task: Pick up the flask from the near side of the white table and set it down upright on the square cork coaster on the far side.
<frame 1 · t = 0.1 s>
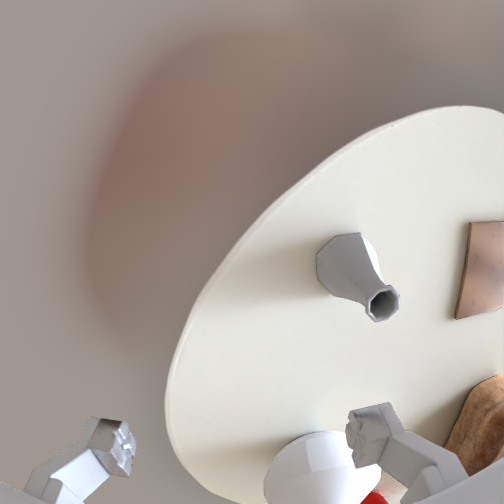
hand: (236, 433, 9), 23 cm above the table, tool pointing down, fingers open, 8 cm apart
flask: (345, 263, 33), on the table
coaster: (493, 267, 34), on the table
bread: (468, 417, 45), on the table
apple: (367, 495, 52), on the table
vase: (314, 447, 42), on the table
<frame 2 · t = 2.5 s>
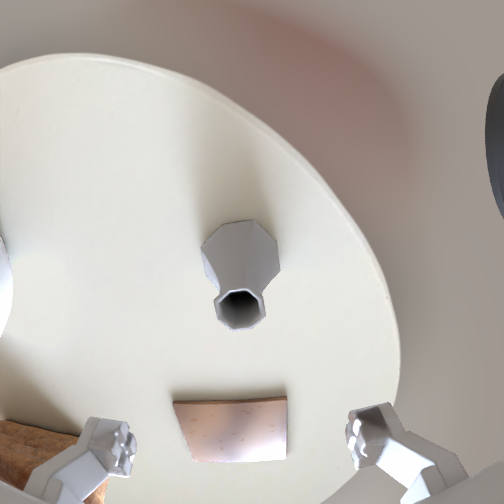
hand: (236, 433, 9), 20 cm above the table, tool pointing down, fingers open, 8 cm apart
flask: (240, 257, 28), on the table
coaster: (234, 433, 36), on the table
bread: (51, 441, 38), on the table
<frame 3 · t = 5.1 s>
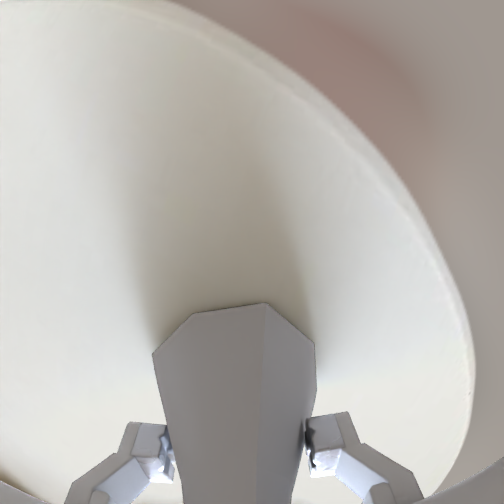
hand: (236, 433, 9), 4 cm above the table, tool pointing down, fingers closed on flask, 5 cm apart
flask: (237, 369, 13), on the table, touching gripper
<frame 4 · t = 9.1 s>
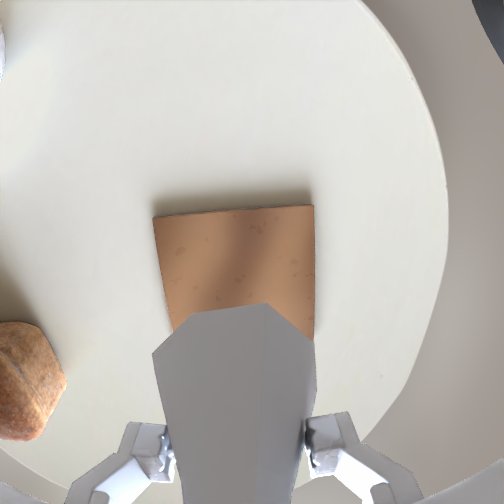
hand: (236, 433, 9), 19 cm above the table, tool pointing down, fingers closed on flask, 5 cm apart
flask: (237, 369, 13), point 15 cm above the table, touching gripper
coaster: (238, 284, 28), on the table
bread: (2, 350, 31), on the table
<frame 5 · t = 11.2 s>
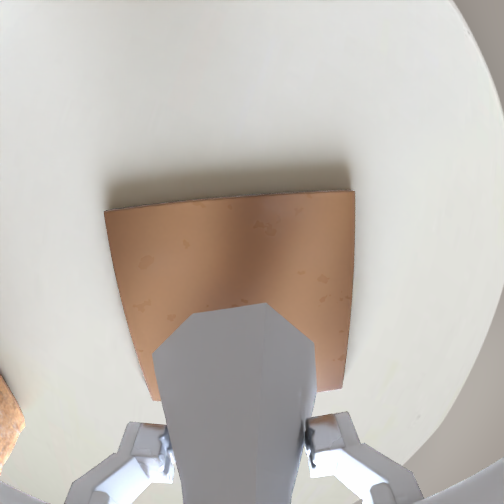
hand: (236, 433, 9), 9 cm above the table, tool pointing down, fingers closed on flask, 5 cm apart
flask: (237, 369, 13), point 6 cm above the table, touching gripper
coaster: (237, 312, 18), on the table
when the fingers open (4 cm above the table, at t = 12.9 s): flask stays where it is, resting on coaster.
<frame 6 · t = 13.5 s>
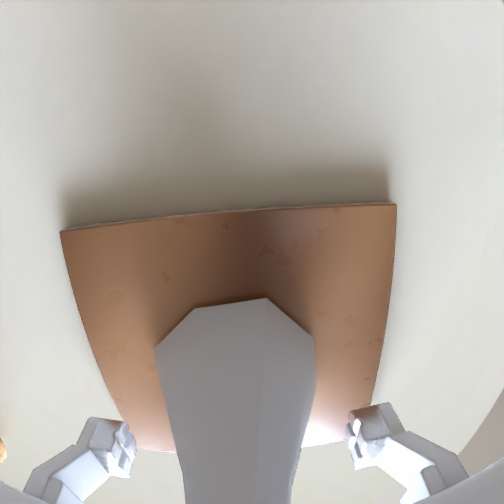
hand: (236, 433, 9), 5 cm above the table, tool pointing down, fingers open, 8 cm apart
flask: (238, 364, 13), resting on coaster
coaster: (236, 360, 14), on the table
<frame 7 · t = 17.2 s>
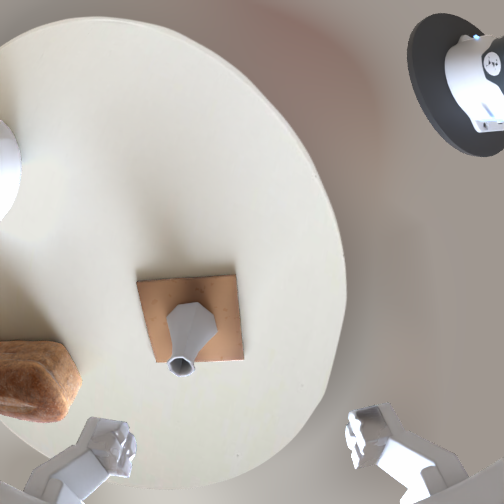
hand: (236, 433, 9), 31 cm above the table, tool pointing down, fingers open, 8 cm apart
flask: (192, 323, 42), resting on coaster
coaster: (192, 322, 43), on the table
bread: (31, 359, 45), on the table
vase: (1, 169, 34), on the table
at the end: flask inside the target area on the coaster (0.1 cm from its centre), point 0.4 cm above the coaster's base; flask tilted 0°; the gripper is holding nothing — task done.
